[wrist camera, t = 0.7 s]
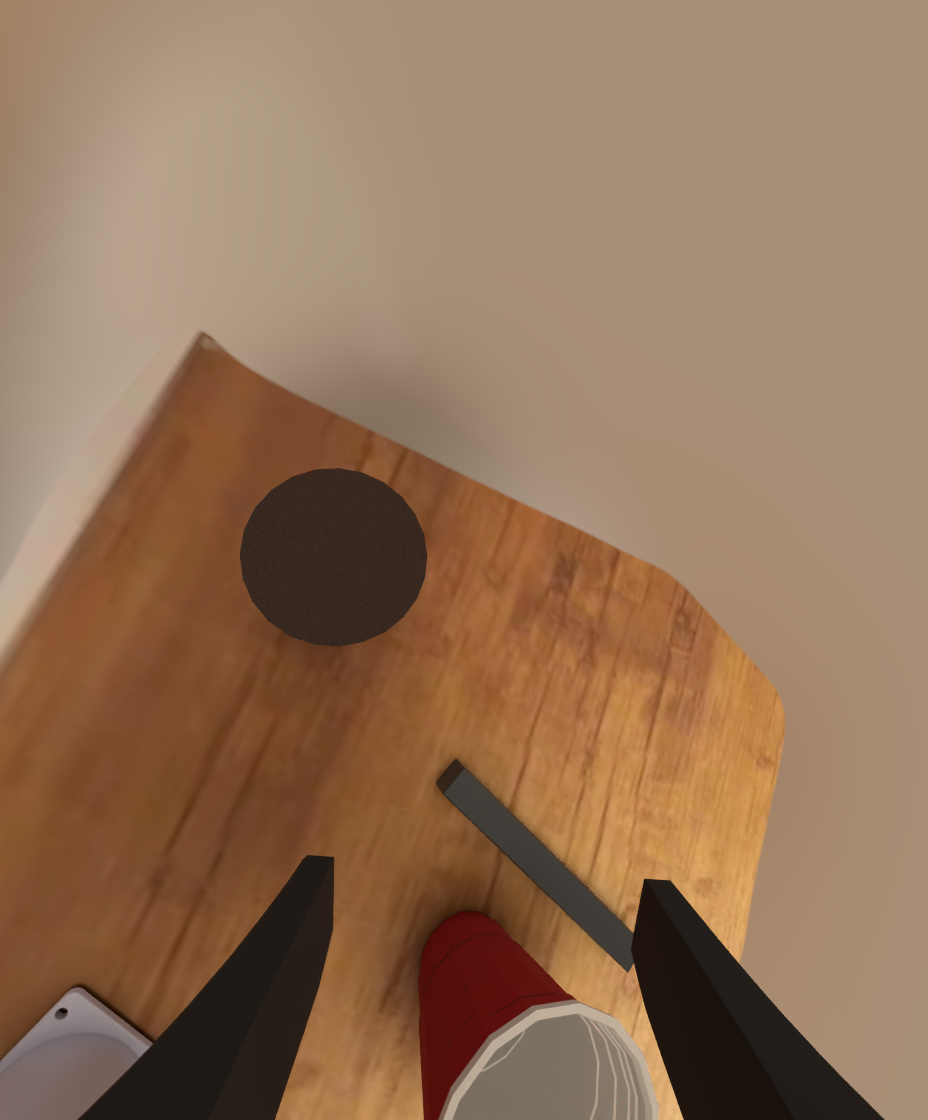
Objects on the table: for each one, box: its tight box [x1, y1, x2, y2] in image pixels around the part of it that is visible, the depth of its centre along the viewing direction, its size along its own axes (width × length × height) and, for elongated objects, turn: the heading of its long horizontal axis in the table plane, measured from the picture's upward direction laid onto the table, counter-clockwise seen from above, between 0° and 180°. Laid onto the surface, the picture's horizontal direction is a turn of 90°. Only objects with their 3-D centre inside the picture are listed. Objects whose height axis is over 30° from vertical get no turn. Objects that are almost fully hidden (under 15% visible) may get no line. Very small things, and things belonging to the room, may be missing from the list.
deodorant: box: [240, 468, 427, 646], centre depth 22 cm, size 6×6×15 cm
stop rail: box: [436, 759, 634, 972], centre depth 30 cm, size 2×18×2 cm, turn 45°
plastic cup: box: [418, 911, 658, 1120], centre depth 23 cm, size 11×11×12 cm
